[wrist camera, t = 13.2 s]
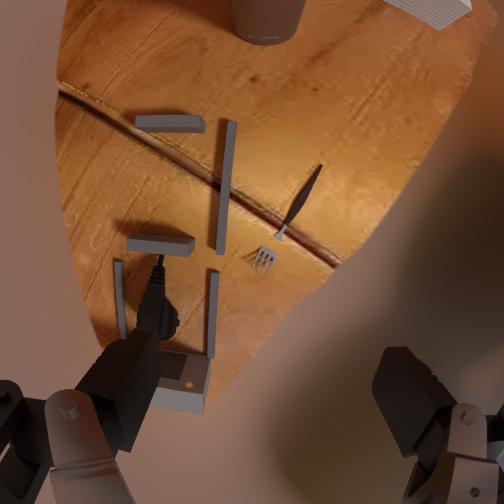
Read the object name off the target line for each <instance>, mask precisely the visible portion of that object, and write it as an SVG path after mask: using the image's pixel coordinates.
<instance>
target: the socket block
mask: <svg viewBox="0 0 504 504" xmlns="http://www.w3.org/2000/svg"><path fill="white" fill-rule="evenodd" d="M114 265H115V286H116V300H117V311H118V321H119V330H120V338H121V339H125V340H126V339H127V337H128V333H127V323H126V312H125V299H124V281H123V261H120V260H116V261H115V262H114ZM218 284H219V272H217V271H212V272H211V282H210V301H209V322H208V349H207V355H200V354H192V353H185V352H178V351H172V350H166V349H160V348H159V352H160V365H161V373H160V380H159V383H158V386H157V388H156V391H155V393H154V395H153V398H152V400H151V402H150V405H151V406H156V407H160V408H165V409H171V410H176V411H182V412H188V413H195V414H202V415H203V411H204V406H205V401H206V396H207V391H208V386H209V381H210V375H211V358H212V359H214V355H215V334H216V316H217V299H218Z"/></svg>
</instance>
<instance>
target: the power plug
mask: <svg viewBox="0 0 504 504" xmlns="http://www.w3.org/2000/svg"><path fill="white" fill-rule="evenodd" d="M163 259H164V255H163V254H159V259H158V265H154V266H153V271H152V272H151V274H152V275H150V279H149V280H148V281H149V282H150V283H147V287H146V292H145V293H143V298H142V303H141V304H140V305H139V310H138V313H137V323H136V326H137V327H138V328H143V329H149V330H155V331H157V332H158V337H159V341H164V340H167V339H169V338H171V337H172V336H173V335H174V334H175V333H176V326H178V327H179V323H180V320H179V319H177V318H178V312H177V310H176V309H175V307H174V306H173V305H171V304H170V303H169V302H168V301H167V300H166V299H165V286H164V285H165V278H164V277H165V268H164V266H162V265H163Z"/></svg>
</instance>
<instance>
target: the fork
mask: <svg viewBox="0 0 504 504" xmlns="http://www.w3.org/2000/svg"><path fill="white" fill-rule="evenodd" d="M322 166H323V165H321V166H320V167H319V169H318V170H317V172H316V173H315V174H314V176H313V177H312V179H311V180H310V181H309V183H308V184H307V185H306V187H305V188H304V189H303V190H302V192H301V193H300V195H299V196H298V197H297V199H296V201H295V202H294V204H293V206H292V208H291V211H290V213H289V215H288V217H287V219H286V221H285V223H284V225H283V227H282V229H281V230H280V231H279V232H278V233H277V234H275V235H273V237H274V238H275V239H277V240H279V241H282V235H283V232H284V230H285V229H286V227H287V226H288V225H289V223H290V222H291V221H292V220H293V218H294V217H295V216H296V214H297V213H298V212H299V211H300V209H301V208H302V206H303V205H304V203H305V201H306V199H307V197H308V195H309V193H310V191H311V189H312V187H313V184H314V182H315V180H316V178H317V176H318V174H319V172H320V170H321V168H322ZM262 251H263V252H264V253H263V256H262V258H261V260H260V263H259V265H258V268H259V266H260V265H261V263H262V261H263V259H264V258H265V256H266V255H267V254H268V258H267V260H266V262H265V265H264V267H263V270H264V269H265V267H266V265H267V263H268V261H269V260H270V258H271V257H273V260H272V262H271V264H270V267H269V269H268V272H267V274H268V273H269V271H270V269H271V267H272V265H273V263H274V262H275V260H276V258H277V257H278V254H277V253H275V252H273V251H272V250H270V249H268V248H267V247H265V246H263V245H262V246H261V247H260V249H259V252H258V254H257V256H256V258H255V261H254V263H253V265H252V268H253V266H254V264H255V262H256V261H257V259H258V257H259V255H260V254H261V252H262ZM252 268H251V269H252ZM258 268H257V270H258ZM257 270H256V271H257ZM263 270H262V272H263ZM262 272H261V274H262ZM267 274H266V277H267Z"/></svg>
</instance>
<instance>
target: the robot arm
mask: <svg viewBox="0 0 504 504" xmlns="http://www.w3.org/2000/svg"><path fill="white" fill-rule="evenodd" d="M305 2H306V0H229V7H230V15H231V22H232V27H233V29H234V31H235V32H236V34H237V35H238V36H240V37H241V38H242V39H244V40H246V41H248V42H250V43H253V44H258V45H276V44H279V43H283V42H285V41H286V40H288V39H290V38H291V37H292V36H293V35H294V33H295V32H296V30H297V27H298V24H299V21H300V18H301V15H302V12H303V9H304V5H305ZM160 373H161V365H160V352H159V337H158V332H157V331H155V330H149V329H143V328H138V327H135V328H134V329H133V331H132V332H131V333H130V335H129V336H128V337H127V339H126V340H125V339H118V340H116V341H114V342H113V343H111V344H109V345H108V346H107V347H106V349H105V350H104V351H103V352H102V354H101V356H99V357H98V359H97V360H96V363H94V364H93V365H92V366H91V368H90V369H89V370H88V372H87V373H86V374H85V375H84V377H83V378H82V379H81V381H80V382H79V383H78V385H77V386H76V387H75V389H66V390H61V391H58V392H56V393H54V394H52V395H51V396H50V397H49V398H48V399H47V400H39V399H33V398H26V397H24V396H23V394H22V392H21V390H20V387H19V386H18V385H17V384H16V383H14V382H12V381H10V380H0V455H1V454H2V452H3V450H4V449H5V447H6V445H7V444H9V445H10V447H9V449H8V450H7V452H6V454H5V456H4V457H3V459H2V460H1V462H0V504H34V503H35V500H36V498H37V495H38V494H39V491H40V489H41V487H42V485H43V482H44V480H45V478H46V476H47V474H48V472H49V469H50V467H55V469H54V470H51V471H50V480H51V485H52V488H53V492H54V495H55V499H56V502H57V504H136V502H135V500H134V498H133V496H132V494H131V492H130V490H129V488H128V487H127V485H126V483H125V480H124V478H123V476H122V474H121V472H120V470H119V468H118V465H117V463H116V461H115V457H116V454H117V452H118V450H122V451H126V452H131V449H132V447H133V444H134V442H135V439H136V437H137V434H138V432H139V429H140V427H141V424H142V422H143V419H144V417H145V414H146V412H147V410H148V407H149V405H150V402H151V400H152V398H153V395H154V393H155V391H156V388H157V386H158V383H159V380H160ZM433 374H434V373H433V372H432V371H431V369H430V368H429V367H428V366H427V365H426V364H424V363H423V362H422V361H420V360H419V359H417V358H416V357H415V355H414V354H413V353H412V352H411V351H410V349H409V348H407V347H406V346H398V347H387V348H386V349H385V351H384V353H383V356H382V358H381V361H380V363H379V366H378V369H377V371H376V374H375V376H374V379H373V382H372V394H373V396H374V398H375V400H376V402H377V404H378V406H379V408H380V410H381V412H382V414H383V416H384V418H385V420H386V422H387V424H388V426H389V428H390V430H391V432H392V434H393V436H394V438H395V440H396V443H397V445H398V447H399V449H400V451H401V453H402V455H403V457H404V458H406V457H410V456H413V455H417V456H418V459H417V460H416V462H415V463H414V465H413V469H412V472H411V475H410V478H409V481H408V483H407V486H406V489H405V491H404V494H403V497H402V499H401V502H400V504H504V472H503V470H502V469H501V467H500V465H499V464H498V462H497V461H498V459H499V458H500V457H501V456H502V455H503V454H504V404H503V405H502V407H501V408H500V410H499V411H498V413H497V414H496V415H485V414H484V413H483V411H482V410H481V409H480V408H478V407H477V406H475V405H473V404H470V403H459V404H458V403H457V401H456V400H455V399H454V398H453V397H452V395H451V394H450V393H449V391H448V390H447V389H446V388H445V386H444V385H443V384H442V383H441V382H439V379H438V378H437V377H436V375H433Z"/></svg>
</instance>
